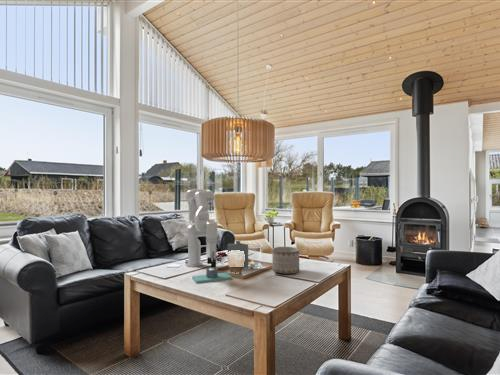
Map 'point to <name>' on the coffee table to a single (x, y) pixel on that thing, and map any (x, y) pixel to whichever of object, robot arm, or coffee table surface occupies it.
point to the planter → (285, 260)
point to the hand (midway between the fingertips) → (211, 265)
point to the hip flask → (242, 248)
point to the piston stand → (204, 279)
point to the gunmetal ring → (211, 273)
